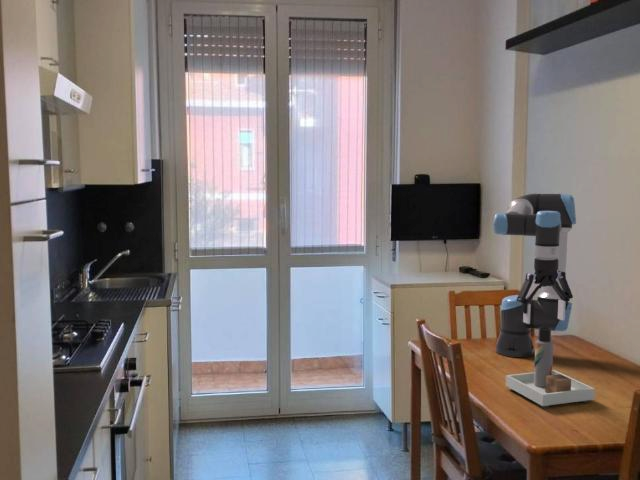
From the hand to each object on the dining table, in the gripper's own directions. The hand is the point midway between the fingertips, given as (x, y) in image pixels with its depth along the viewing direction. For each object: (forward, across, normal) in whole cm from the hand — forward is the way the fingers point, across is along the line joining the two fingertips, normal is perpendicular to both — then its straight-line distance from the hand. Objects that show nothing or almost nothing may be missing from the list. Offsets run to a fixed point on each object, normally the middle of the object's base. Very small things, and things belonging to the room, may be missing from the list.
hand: (543, 321), depth 217 cm
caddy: (+24, -1, -5) cm, 24 cm away
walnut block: (+22, -1, -9) cm, 24 cm away
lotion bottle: (+22, 0, -1) cm, 22 cm away
